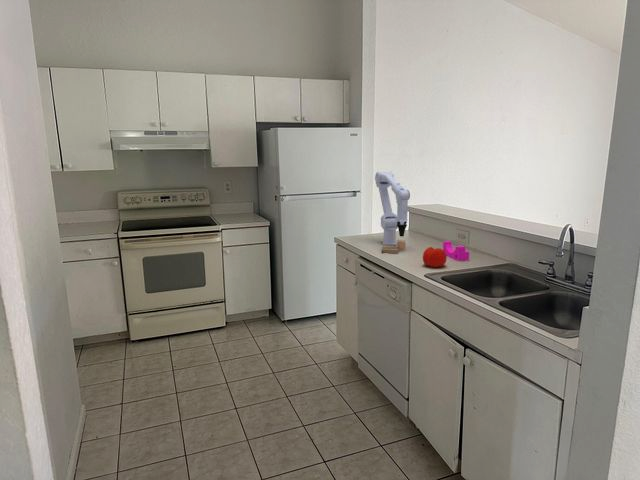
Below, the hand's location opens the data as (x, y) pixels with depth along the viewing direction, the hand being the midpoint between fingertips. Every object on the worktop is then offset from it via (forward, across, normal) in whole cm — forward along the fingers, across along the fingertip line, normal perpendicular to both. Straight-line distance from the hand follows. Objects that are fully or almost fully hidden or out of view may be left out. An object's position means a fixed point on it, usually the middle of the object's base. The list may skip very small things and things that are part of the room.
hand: (401, 235), depth 256 cm
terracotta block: (+9, 0, 0) cm, 9 cm away
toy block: (+9, +14, +28) cm, 33 cm away
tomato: (+9, +34, +16) cm, 39 cm away
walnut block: (+9, +8, -6) cm, 13 cm away
